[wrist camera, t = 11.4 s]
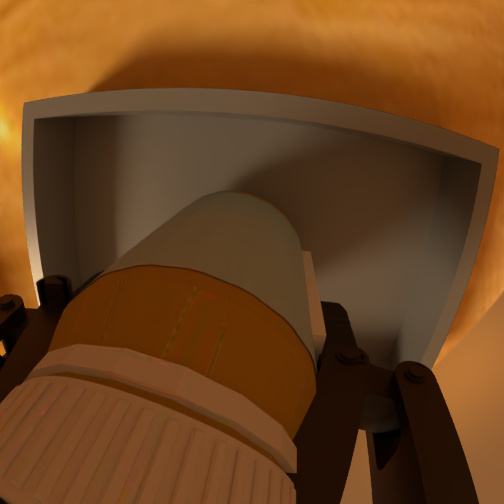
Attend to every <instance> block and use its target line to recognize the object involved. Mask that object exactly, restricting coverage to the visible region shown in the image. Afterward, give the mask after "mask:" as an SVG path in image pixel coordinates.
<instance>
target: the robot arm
mask: <svg viewBox="0 0 504 504" xmlns="http://www.w3.org/2000/svg"><path fill="white" fill-rule="evenodd" d="M302 256H303V264H304V271H305V279H306V287H307V295H308V303H309V312H310V320H311V329H312V337H313V342H314V347H315V354H316V363H317V373H318V376H317V378H316V394H315V396H314V398H313V400H312V402H311V404H310V407H309V409H308V411H307V413H306V415H305V417H304V419H303V421H302V423H301V425H300V427H299V429H298V431H297V433H296V435H295V437H294V439H293V441H292V442H293V443H294V445H295V447H296V448H297V473H286V475H287V476H288V477H289V478H290V479H291V481H292V482H293V484H294V489H295V490H296V504H340V502H341V498H342V494H343V491H344V488H345V484H346V480H347V476H348V473H349V469H350V465H351V460H352V456H353V452H354V448H355V443H356V439H357V434H358V429H361V430H365V431H366V438H367V447H368V455H369V465H370V476H371V487H372V500H373V504H479V502H478V498H477V494H476V490H475V487H474V483H473V480H472V477H471V473H470V470H469V467H468V463H467V461H466V457H465V454H464V451H463V448H462V445H461V442H460V440H459V437H458V434H457V431H456V429H455V425H454V423H453V420H452V417H451V415H450V412H449V410H448V407H447V405H446V402H445V399H444V397H443V394H442V392H441V390H440V387H439V385H438V383H437V380H436V378H435V375H434V374H433V373H432V371H431V370H430V369H429V368H428V367H426V366H425V365H423V364H421V363H419V362H415V361H403V362H401V363H399V364H398V365H397V366H396V368H395V370H394V371H392V370H388V369H384V368H381V367H378V366H375V365H373V364H371V363H370V360H369V356H368V355H367V354H366V352H365V351H363V350H362V349H361V348H359V347H357V344H356V341H355V337H354V334H353V330H352V327H351V324H350V320H349V317H348V314H347V311H346V310H345V309H344V307H343V306H342V305H341V304H340V303H335V302H326V301H320V297H319V292H318V287H317V281H316V276H315V271H314V266H313V261H312V256H311V252H310V251H303V250H302ZM104 271H105V270H103V271H101V272H98V273H96V274H94V275H93V276H92V277H91V278H89V279H88V281H86V282H85V283H83V285H81V286H80V287H79V288H78V289H76V290H75V291H74V292H73V288H72V282H71V280H70V278H69V277H67V276H65V275H50V276H46V277H44V278H41V279H39V280H38V281H37V282H36V286H37V291H38V296H39V301H40V306H39V308H38V309H31V308H25V307H24V303H23V300H22V298H21V297H20V296H18V295H12V294H9V295H4V296H2V297H0V341H1V340H2V343H3V346H4V349H5V351H6V353H5V355H3V356H1V355H0V404H1V403H2V401H3V400H4V399H5V398H6V397H7V395H8V394H9V393H10V392H11V391H12V390H13V389H14V388H15V387H16V386H20V385H21V384H22V383H23V382H24V381H25V379H26V378H27V377H28V375H29V374H30V373H31V371H32V370H33V369H34V368H35V366H36V365H37V364H38V363H39V362H40V361H41V360H42V359H43V358H44V357H45V355H46V354H47V352H48V349H49V347H50V344H51V341H52V338H53V335H54V332H55V330H56V327H57V325H58V322H59V320H60V318H61V316H62V313H63V311H64V309H65V308H66V306H67V305H68V304H69V303H70V302H71V301H72V300H73V299H74V298H75V297H76V296H78V294H79V293H80V292H81V291H82V290H83V289H84V288H85V287H86V286H87V285H89V284H90V283H91V282H92V281H93V280H94V279H95V278H97V277H98V276H99V275H100V274H101V273H103V272H104ZM0 504H7V503H6V502H5V501H4V500H2V499H1V498H0Z"/></svg>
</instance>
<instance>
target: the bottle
mask: <svg viewBox="0 0 504 504" xmlns="http://www.w3.org/2000/svg"><path fill="white" fill-rule="evenodd" d="M317 376H318V373H317V363H316V354H315V347H314V342H313V337H312V329H311V320H310V312H309V303H308V295H307V287H306V279H305V271H304V264H303V256H302V248H301V243H300V240H299V237H298V234H297V232H296V230H295V229H294V227H293V225H292V224H291V222H290V220H289V219H288V217H287V216H286V215H285V214H284V213H283V212H282V211H281V210H279V209H278V208H277V207H276V206H275V205H273V204H272V203H271V202H269V201H268V200H266V199H264V198H261V197H259V196H256V195H254V194H251V193H248V192H242V191H219V192H215V193H212V194H208V195H205V196H202V197H200V198H199V199H197V200H195V201H194V202H192V203H191V204H189V205H188V206H186V207H185V208H183V209H182V210H181V211H179V212H178V213H177V214H175V215H174V216H173V217H171V218H170V219H169V220H167V221H166V222H165V223H163V224H162V225H161V226H160V227H158V228H157V229H156V230H154V231H153V232H152V233H151V234H149V235H148V236H147V237H145V238H144V239H143V240H142V241H140V242H139V243H138V244H137V245H135V246H134V247H133V248H132V249H130V250H129V251H128V252H127V253H125V254H124V255H123V256H122V257H121V258H119V259H118V260H117V261H116V262H115V263H113V264H112V265H111V266H110V267H109V268H107V269H106V270H105V271H104V272H103V273H101V274H100V275H99V276H98V277H97V278H95V279H94V280H93V281H92V282H91V283H90V284H89V285H87V286H86V287H85V288H84V289H83V290H82V291H81V292H80V293H79V294H78V296H76V297H75V298H74V299H73V300H72V301H71V302H70V303H69V304H68V305H67V306H66V308H65V309H64V311H63V313H62V316H61V318H60V320H59V322H58V325H57V327H56V330H55V332H54V335H53V338H52V341H51V344H50V347H49V349H48V352H47V354H46V355H45V357H44V358H43V359H42V360H41V361H40V362H39V363H38V364H37V365H36V366H35V368H34V369H33V370H32V371H31V373H30V374H29V375H28V377H27V378H26V379H25V381H24V382H23V383H22V384H21V385H20V386H16V387H15V388H14V389H13V390H12V391H11V392H10V393H9V394H8V395H7V397H6V398H5V399H4V400H3V401H2V403H1V404H0V498H1V499H2V500H4V501H5V502H6V503H7V504H296V490H295V489H294V484H293V482H292V481H291V479H290V478H289V477H288V476H287V475H286V473H297V448H296V447H295V445H294V443H293V442H292V441H293V439H294V437H295V435H296V433H297V431H298V429H299V427H300V425H301V423H302V421H303V419H304V417H305V415H306V413H307V411H308V409H309V407H310V404H311V402H312V400H313V398H314V396H315V394H316V378H317Z"/></svg>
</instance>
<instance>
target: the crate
mask: <svg viewBox="0 0 504 504" xmlns="http://www.w3.org/2000/svg"><path fill="white" fill-rule="evenodd" d="M498 156H499V149H498V148H496V147H493V146H491V145H488V144H486V143H483V142H481V141H478V140H475V139H473V138H470V137H467V136H464V135H461V134H459V133H456V132H453V131H450V130H447V129H444V128H440V127H437V126H434V125H431V124H427V123H424V122H421V121H417V120H414V119H410V118H406V117H402V116H399V115H395V114H391V113H387V112H382V111H378V110H374V109H369V108H365V107H360V106H355V105H350V104H345V103H340V102H334V101H328V100H322V99H316V98H310V97H303V96H295V95H288V94H279V93H270V92H260V91H248V90H233V89H214V88H145V89H126V90H112V91H101V92H91V93H82V94H74V95H67V96H60V97H53V98H47V99H41V100H36V101H31V102H26V103H24V107H23V122H22V192H23V207H24V219H25V228H26V237H27V245H28V252H29V258H30V264H31V270H32V276H33V281H34V286H35V291H36V296H37V301H38V305H39V306H40V301H39V296H38V291H37V286H36V282H37V281H38V280H39V279H41V278H44V277H46V276H50V275H65V276H67V277H69V278H70V280H71V282H72V288H73V292H74V291H75V290H76V289H78V288H79V287H80V286H81V285H83V283H85V282H86V281H88V279H89V278H91V277H92V276H93V275H94V274H96V273H98V272H101V271H103V270H106V269H107V268H109V267H110V266H111V265H112V264H113V263H115V262H116V261H117V260H118V259H119V258H121V257H122V256H123V255H124V254H125V253H127V252H128V251H129V250H130V249H132V248H133V247H134V246H135V245H137V244H138V243H139V242H140V241H142V240H143V239H144V238H145V237H147V236H148V235H149V234H151V233H152V232H153V231H154V230H156V229H157V228H158V227H160V226H161V225H162V224H163V223H165V222H166V221H167V220H169V219H170V218H171V217H173V216H174V215H175V214H177V213H178V212H179V211H181V210H182V209H183V208H185V207H186V206H188V205H189V204H191V203H192V202H194V201H195V200H197V199H199V198H200V197H202V196H205V195H208V194H212V193H215V192H219V191H242V192H248V193H251V194H254V195H256V196H259V197H261V198H264V199H266V200H268V201H269V202H271V203H272V204H273V205H275V206H276V207H277V208H278V209H279V210H281V211H282V212H283V213H284V214H285V215H286V216H287V217H288V219H289V220H290V222H291V224H292V225H293V227H294V229H295V230H296V232H297V234H298V237H299V240H300V243H301V248H302V250H303V251H310V252H311V256H312V261H313V266H314V271H315V276H316V281H317V287H318V292H319V297H320V301H326V302H335V303H340V304H341V305H342V306H343V307H344V309H345V310H346V311H347V314H348V317H349V320H350V324H351V327H352V330H353V334H354V337H355V341H356V344H357V347H359V348H361V349H362V350H363V351H365V352H366V354H367V355H368V356H369V360H370V363H371V364H373V365H375V366H378V367H381V368H384V369H388V370H392V371H394V370H395V368H396V366H397V365H398V364H399V363H401V362H403V361H415V362H419V363H421V364H423V365H425V366H426V367H428V368H429V369H430V370H431V369H432V367H433V365H434V363H435V361H436V359H437V357H438V355H439V352H440V350H441V348H442V346H443V344H444V342H445V339H446V337H447V335H448V333H449V330H450V328H451V326H452V323H453V321H454V318H455V316H456V313H457V311H458V308H459V306H460V303H461V301H462V298H463V295H464V293H465V290H466V287H467V284H468V281H469V278H470V275H471V272H472V269H473V266H474V263H475V260H476V256H477V253H478V250H479V246H480V243H481V239H482V235H483V232H484V228H485V224H486V220H487V215H488V211H489V207H490V202H491V197H492V192H493V187H494V181H495V176H496V170H497V163H498Z"/></svg>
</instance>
